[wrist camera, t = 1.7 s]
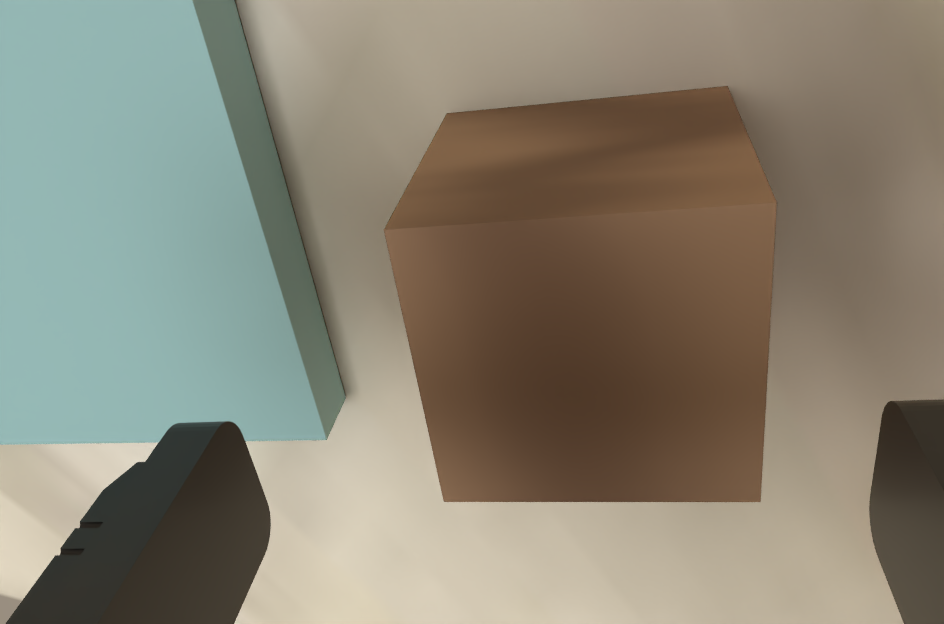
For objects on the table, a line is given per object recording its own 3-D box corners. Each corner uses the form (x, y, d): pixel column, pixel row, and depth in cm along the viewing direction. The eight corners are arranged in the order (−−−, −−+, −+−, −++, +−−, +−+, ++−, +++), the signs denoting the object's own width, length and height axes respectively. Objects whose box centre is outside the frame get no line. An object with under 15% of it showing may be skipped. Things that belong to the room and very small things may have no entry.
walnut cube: (726, 84, 14) (776, 202, 10) (722, 326, 16) (759, 502, 12) (447, 112, 15) (384, 230, 11) (483, 335, 17) (443, 501, 13)
